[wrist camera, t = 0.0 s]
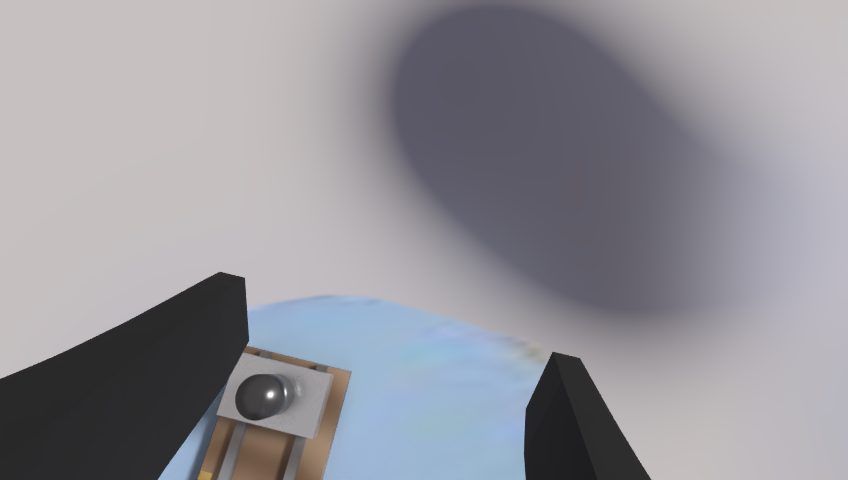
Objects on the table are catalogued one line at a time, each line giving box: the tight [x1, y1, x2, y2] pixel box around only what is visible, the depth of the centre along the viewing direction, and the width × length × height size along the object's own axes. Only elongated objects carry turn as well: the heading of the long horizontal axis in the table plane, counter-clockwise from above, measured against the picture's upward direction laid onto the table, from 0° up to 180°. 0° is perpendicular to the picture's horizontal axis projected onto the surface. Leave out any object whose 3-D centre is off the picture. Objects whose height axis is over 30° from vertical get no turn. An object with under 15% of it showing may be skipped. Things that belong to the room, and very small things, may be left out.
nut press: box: [197, 346, 351, 480], centre depth 36 cm, size 19×10×6 cm, turn 167°
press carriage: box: [216, 353, 334, 439], centre depth 35 cm, size 5×8×6 cm, turn 77°
